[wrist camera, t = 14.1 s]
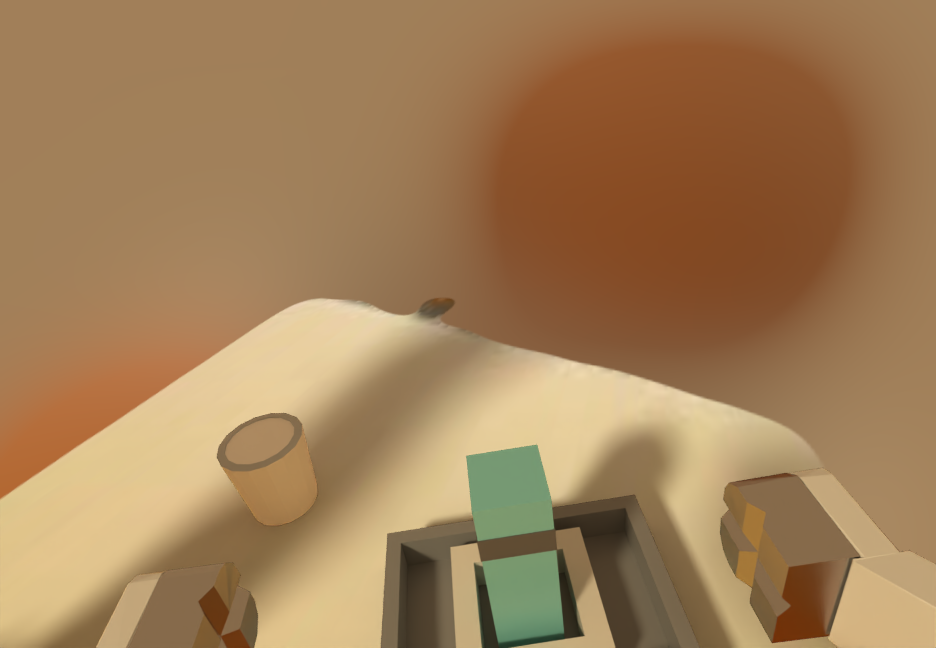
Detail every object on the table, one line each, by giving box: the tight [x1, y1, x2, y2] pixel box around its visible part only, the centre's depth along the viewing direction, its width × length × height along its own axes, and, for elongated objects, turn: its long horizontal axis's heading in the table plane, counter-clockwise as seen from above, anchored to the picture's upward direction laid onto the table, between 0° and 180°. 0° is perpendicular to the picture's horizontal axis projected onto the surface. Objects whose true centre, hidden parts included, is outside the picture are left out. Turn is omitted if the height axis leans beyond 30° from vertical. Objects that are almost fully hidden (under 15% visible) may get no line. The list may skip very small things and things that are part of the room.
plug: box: [466, 445, 565, 648], centre depth 34 cm, size 4×4×13 cm
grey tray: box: [381, 495, 700, 648], centre depth 36 cm, size 18×13×3 cm
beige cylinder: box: [217, 413, 318, 526], centre depth 48 cm, size 7×7×7 cm
